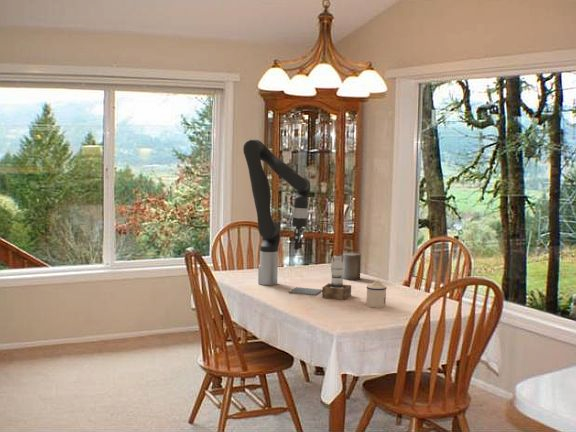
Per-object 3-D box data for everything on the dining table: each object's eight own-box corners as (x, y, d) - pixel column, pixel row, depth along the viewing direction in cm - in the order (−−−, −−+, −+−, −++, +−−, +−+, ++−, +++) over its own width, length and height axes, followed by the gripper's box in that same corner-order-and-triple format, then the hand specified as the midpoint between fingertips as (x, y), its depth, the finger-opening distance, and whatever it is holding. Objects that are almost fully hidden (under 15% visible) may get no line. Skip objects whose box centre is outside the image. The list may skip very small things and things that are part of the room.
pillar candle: (363, 278, 390) (363, 251, 389) (355, 280, 382) (355, 253, 380) (347, 276, 395) (348, 249, 394) (339, 279, 387) (339, 251, 386)
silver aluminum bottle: (334, 294, 347) (335, 253, 345) (346, 296, 344) (347, 255, 341) (327, 296, 342) (328, 255, 340) (339, 298, 338) (340, 257, 336)
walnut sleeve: (322, 297, 340) (322, 287, 339) (328, 293, 350) (328, 283, 349) (345, 299, 336) (345, 289, 336) (350, 295, 346) (351, 285, 345)
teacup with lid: (388, 307, 322) (389, 282, 320) (369, 308, 320) (370, 282, 319) (380, 301, 333) (381, 277, 332) (361, 302, 332) (362, 277, 330)
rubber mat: (288, 292, 349) (288, 291, 349) (296, 288, 360) (296, 287, 360) (315, 295, 344) (315, 294, 344) (322, 290, 356) (322, 289, 355)
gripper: (295, 216, 368) (293, 247, 369) (290, 217, 354) (288, 249, 355) (309, 217, 367) (307, 248, 367) (305, 218, 353) (302, 250, 353)
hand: (297, 248), depth 361 cm, fingers open, 8 cm apart
